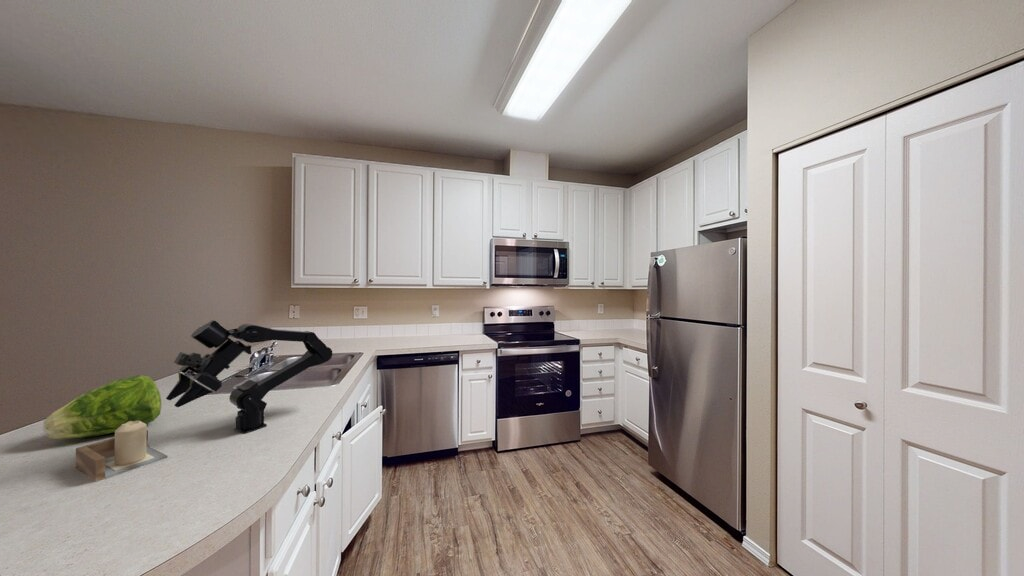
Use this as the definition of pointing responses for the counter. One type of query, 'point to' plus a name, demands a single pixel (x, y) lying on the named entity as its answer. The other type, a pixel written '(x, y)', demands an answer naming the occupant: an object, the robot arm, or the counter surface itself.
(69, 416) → the lettuce
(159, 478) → the counter surface
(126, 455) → the candle
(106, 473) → the frame
